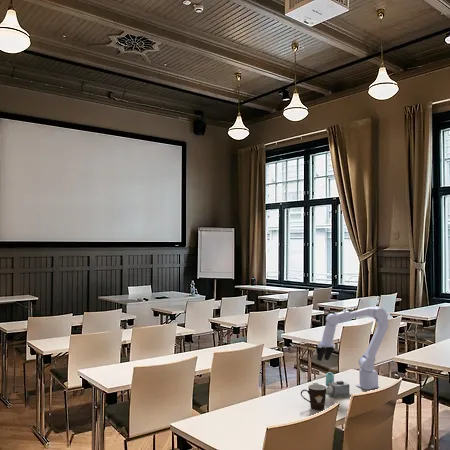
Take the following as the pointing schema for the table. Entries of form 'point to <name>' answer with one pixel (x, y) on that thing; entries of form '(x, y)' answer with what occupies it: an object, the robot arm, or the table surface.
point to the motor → (337, 389)
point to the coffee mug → (316, 396)
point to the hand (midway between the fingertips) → (322, 360)
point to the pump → (329, 378)
